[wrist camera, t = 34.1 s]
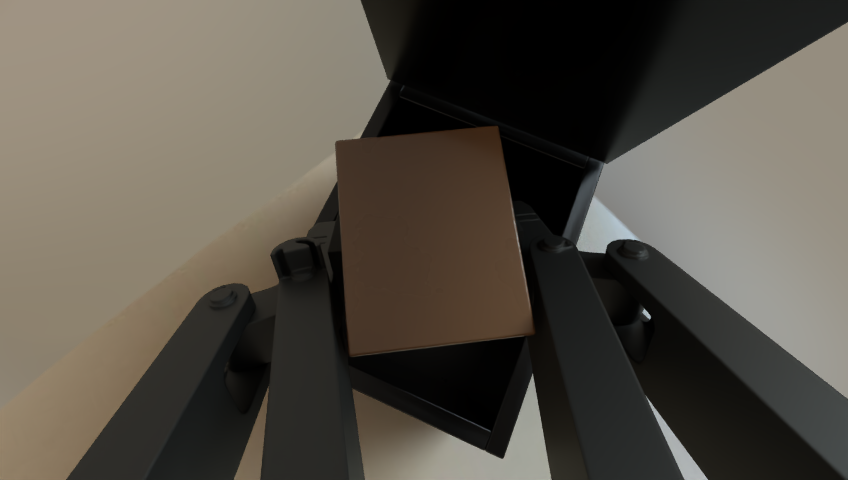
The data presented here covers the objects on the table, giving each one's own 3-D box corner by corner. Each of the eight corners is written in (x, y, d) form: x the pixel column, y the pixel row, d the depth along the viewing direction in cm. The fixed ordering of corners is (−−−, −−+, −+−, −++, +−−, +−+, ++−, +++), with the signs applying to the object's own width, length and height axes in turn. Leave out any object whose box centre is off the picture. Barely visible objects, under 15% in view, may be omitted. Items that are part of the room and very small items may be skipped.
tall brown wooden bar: (454, 235, 19) (498, 124, 9) (467, 328, 18) (537, 334, 7) (381, 242, 19) (334, 139, 8) (390, 337, 18) (347, 357, 7)
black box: (472, 409, 25) (503, 460, 16) (311, 335, 26) (251, 341, 17) (545, 213, 28) (605, 161, 19) (400, 155, 29) (391, 78, 20)
